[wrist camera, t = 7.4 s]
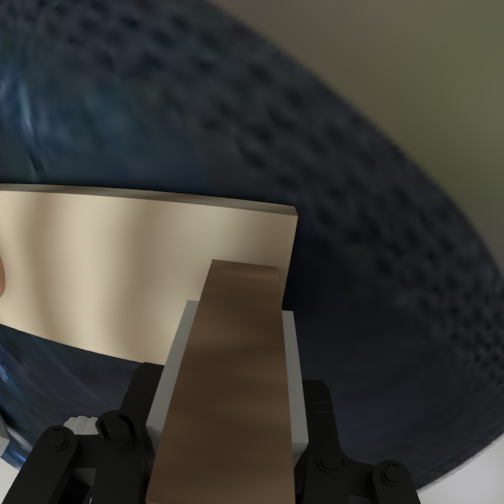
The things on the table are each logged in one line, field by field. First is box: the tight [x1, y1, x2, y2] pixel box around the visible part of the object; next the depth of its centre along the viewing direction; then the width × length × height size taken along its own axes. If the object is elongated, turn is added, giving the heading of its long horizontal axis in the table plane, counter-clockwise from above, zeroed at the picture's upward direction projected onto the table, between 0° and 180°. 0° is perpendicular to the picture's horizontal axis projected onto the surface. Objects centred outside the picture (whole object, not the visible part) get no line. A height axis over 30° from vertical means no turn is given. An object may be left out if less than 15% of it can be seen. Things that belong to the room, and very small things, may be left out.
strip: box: [0, 184, 298, 504], centre depth 11 cm, size 26×10×12 cm, turn 83°
